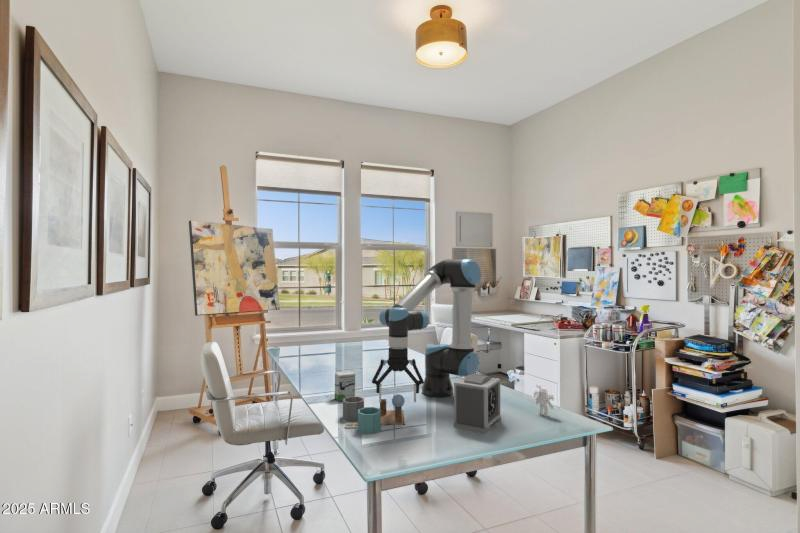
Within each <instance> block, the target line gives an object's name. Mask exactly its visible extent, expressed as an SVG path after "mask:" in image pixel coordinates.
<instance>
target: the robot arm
mask: <svg viewBox="0 0 800 533" xmlns="http://www.w3.org/2000/svg"><path fill="white" fill-rule="evenodd" d="M481 278H482V272H481V267H480V265H479V264H478V262H477V261H476V260H474V259H470V258H469V259H468V258H459V259H458V258H456V259H452V258H451V259H449V258H448V259H447V258H446V259H443V260H440V261H439V262H437V263H435V264H434V265H432V266H431V267H430V268H429V269H427V271H425V273H424V274H423V277H422V278H421V279H420V280H419V281H418V282H417V283H416V284H415V285H414V286H413V287H412V288H411V289H410V290H408V292H406V294H404V295H403V297H401V298H400V299H399V300H398V301H396V303H395V304H394V305H393V306H392V307H391V308H385V309H381V311H380V313H379V322H380V324H381V325H382V326H384V327H388V346H389V348H388V359H384V358H381V359H380V363H379V366H378V368H377V370H376V371H375V374H374V376H373V378H372V379H371V383H372V385H373V384H374V385H375V386H376V389H375V390H376V393H377V394H378V395H379V396H378V398H379V400H378V403H380V402H381V399H382V382H383V381H384V380H385V379H386V377H387V376H388V375H389V374H390V373H391V372H392V371H393V372H403V371H404V372H405V373H406V374H407V375H408V377H409V378H410V379H411V380H412V382H413V383H414V384H413V403H417V394H419V393H420V385H422V387H421V393H422V394H423V395H425V396H428V397H434V398H443V397H444V398H445V397H449V396H451V395H453V394H454V385H453V384H452V381H451V377H450V376H451V375H453V376H459V377H461V378H464V377H466V376H467V375H469V374H476V372H477V370H478V369H479V368H478V367H479V364H480V358H479V355H478V353H477V352H475V346H473V345H472V342H471V341H472V307H473V306H472V303H473V302H472V301H473V291H474V290H476V285H477V284H479V283H480V281H481ZM446 284H447V285H448V284H450V285H449V286H450V289H451V290H452V292H453V300H452V332H451V333H452V336H451V337H452V339H451V343H450V344H445V343H442V344H432V345H428V346H427V347H426V348H425V355H424V356H425V358H424V359H425V360H424V362H425V377H424V379H423V377H422V374H421V373H420V371H419V368H418V366H417V362H416V359H415V358H412V359H408V358H409V357H408V356H409V354H408V350H409V349H408V346H409V342H408V341H409V338H408V336H409V332H410V331H418V330H419V331H420V330H424V329H426V328H427V327H428V326H429V324H430V317H429V315H428V313H427V312H425V311H423V310H417V311H415V309H416V308H417V307H418V306H419V305H420V304H421V303H422V302H423V301H424V300H425V299H426V298H427V297H429V295H430V294H431V293H432V292H433V291H434V290H436V289H439V288H441V286H442V285H446ZM386 364H387V365H388V368H386V370H385V372H384V373H382V375H381V376H380V377H379V375H380V374H381V371H382V370H383V367H384V366H386ZM409 364H410V366H412V368H413V370H414V372H415V374H416V376H417V377H415V375H414V373H412V372H411V371H410V369H409V368H408V365H409ZM378 377H379V378H378ZM417 378H418V379H417Z"/></svg>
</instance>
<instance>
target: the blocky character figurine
mask: <svg viewBox="0 0 800 533" xmlns="http://www.w3.org/2000/svg"><path fill="white" fill-rule="evenodd" d="M535 386H536V388H538V389H539V390H534V391H533V396H534V398H535V405H539V411H538V415H539V416H543V417H550V414H549V410H548V409H549V408H551V410H553V409H554V405H553V404H552V403H551V400H552V402H553V401H555V397H554V395H553V394H552V393H550V394H549V393H548V392H549V391H548V390H547V388H545V387H542V386H539V385H538V384H535ZM548 406H549V407H548Z"/></svg>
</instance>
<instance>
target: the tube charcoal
mask: <svg viewBox="0 0 800 533" xmlns="http://www.w3.org/2000/svg"><path fill="white" fill-rule="evenodd" d="M361 408H365V398H364V397H361V396H355V397H347V398H344V399H343V400H342V419H343V420H345V421H348V422H350V421H355V422H356V421H357V422H358V410H359V409H361Z"/></svg>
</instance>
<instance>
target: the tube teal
mask: <svg viewBox="0 0 800 533" xmlns="http://www.w3.org/2000/svg"><path fill="white" fill-rule="evenodd" d="M357 423H358V428H357V432H358V433H360V434H363V435H375V434H377V433H381V430H382V429H381V428H382V427H381V426H382V425H381V409H380V408H378V407H374V406H372V407H371V406H370V407H369V406H367V407H365V406H364V408H361V409H359V410H358V420H357Z"/></svg>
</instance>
